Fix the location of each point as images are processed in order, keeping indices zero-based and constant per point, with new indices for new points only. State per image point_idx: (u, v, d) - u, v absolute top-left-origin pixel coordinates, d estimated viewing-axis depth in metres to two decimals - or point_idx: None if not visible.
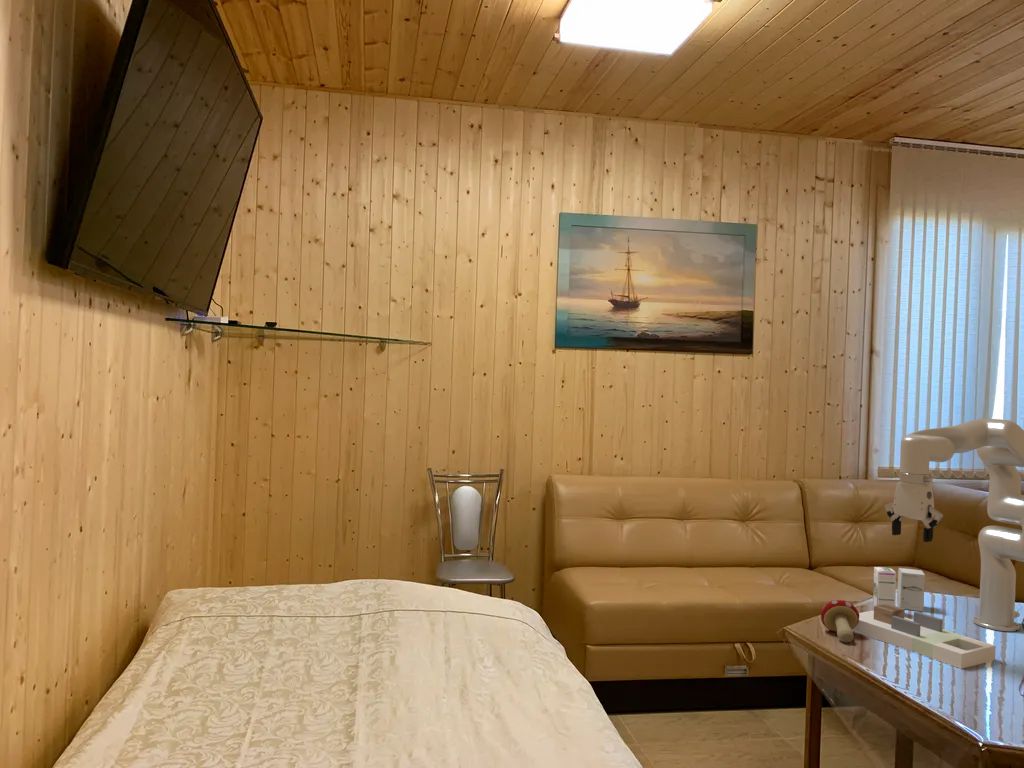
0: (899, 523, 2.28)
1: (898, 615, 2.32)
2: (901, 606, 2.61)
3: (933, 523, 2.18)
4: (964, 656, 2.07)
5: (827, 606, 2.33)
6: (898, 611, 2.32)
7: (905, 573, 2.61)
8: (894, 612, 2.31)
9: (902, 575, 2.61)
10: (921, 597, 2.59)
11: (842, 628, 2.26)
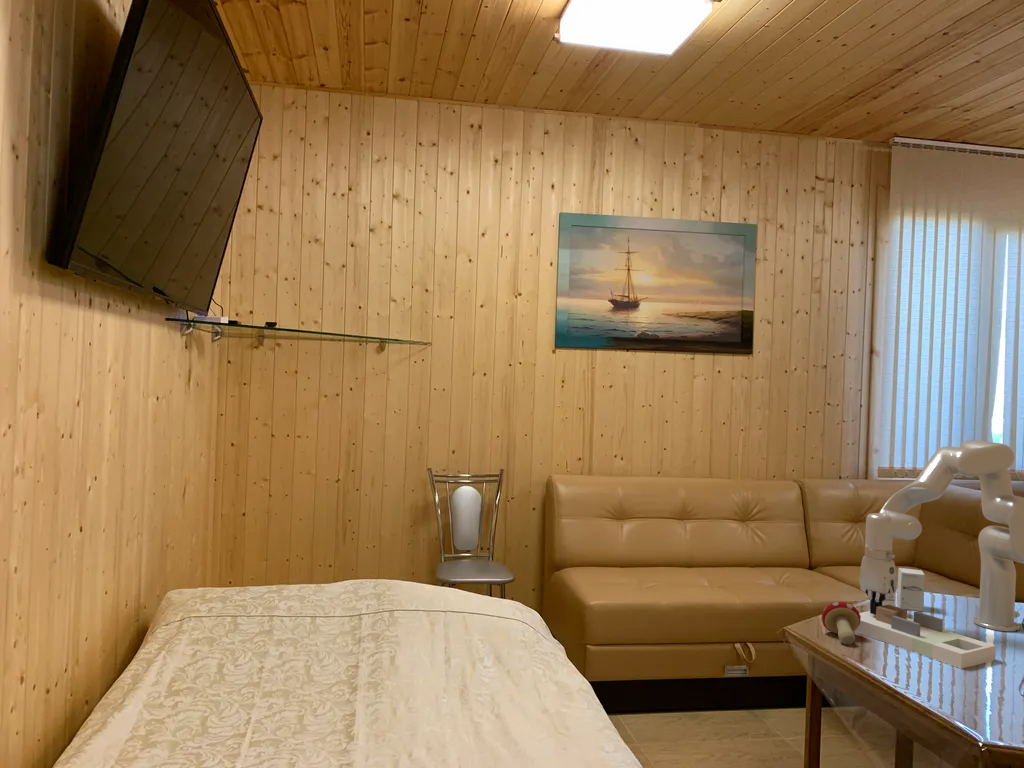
0: None
1: (900, 616, 2.31)
2: (901, 606, 2.61)
3: (882, 598, 2.35)
4: (964, 656, 2.07)
5: (828, 608, 2.31)
6: (900, 612, 2.31)
7: (905, 573, 2.61)
8: (896, 613, 2.30)
9: (902, 575, 2.61)
10: (921, 597, 2.59)
11: (843, 630, 2.24)
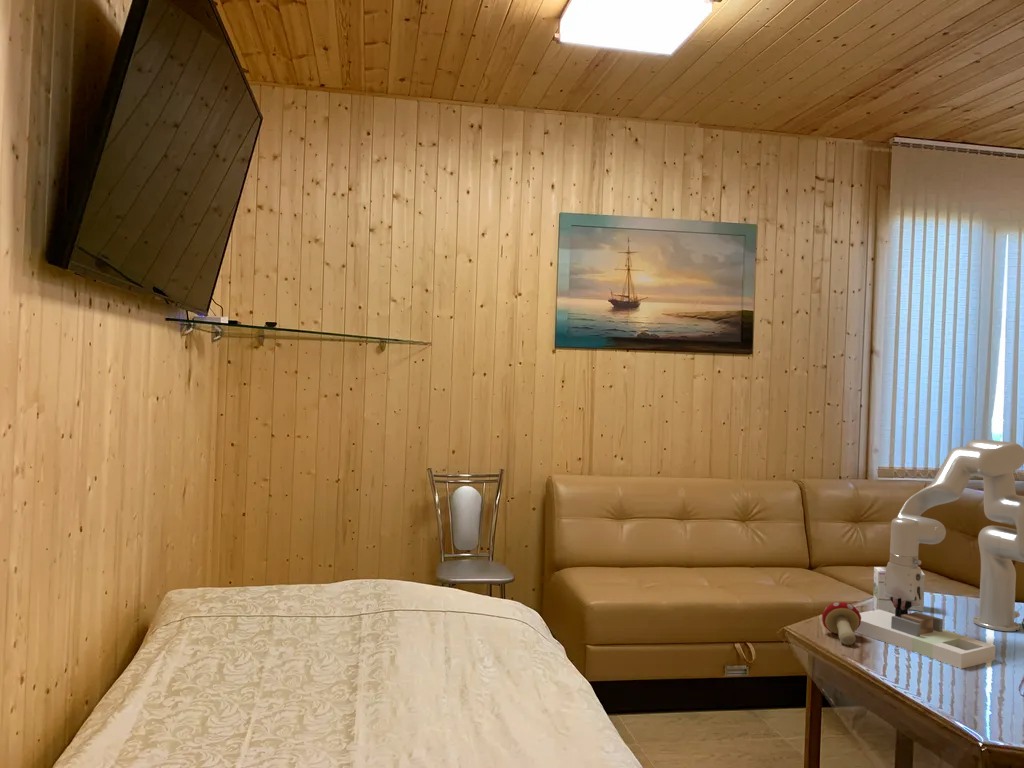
0: None
1: (926, 624, 2.23)
2: None
3: (907, 605, 2.28)
4: (964, 656, 2.07)
5: (829, 608, 2.30)
6: (926, 620, 2.23)
7: None
8: (922, 621, 2.22)
9: None
10: None
11: (844, 630, 2.23)
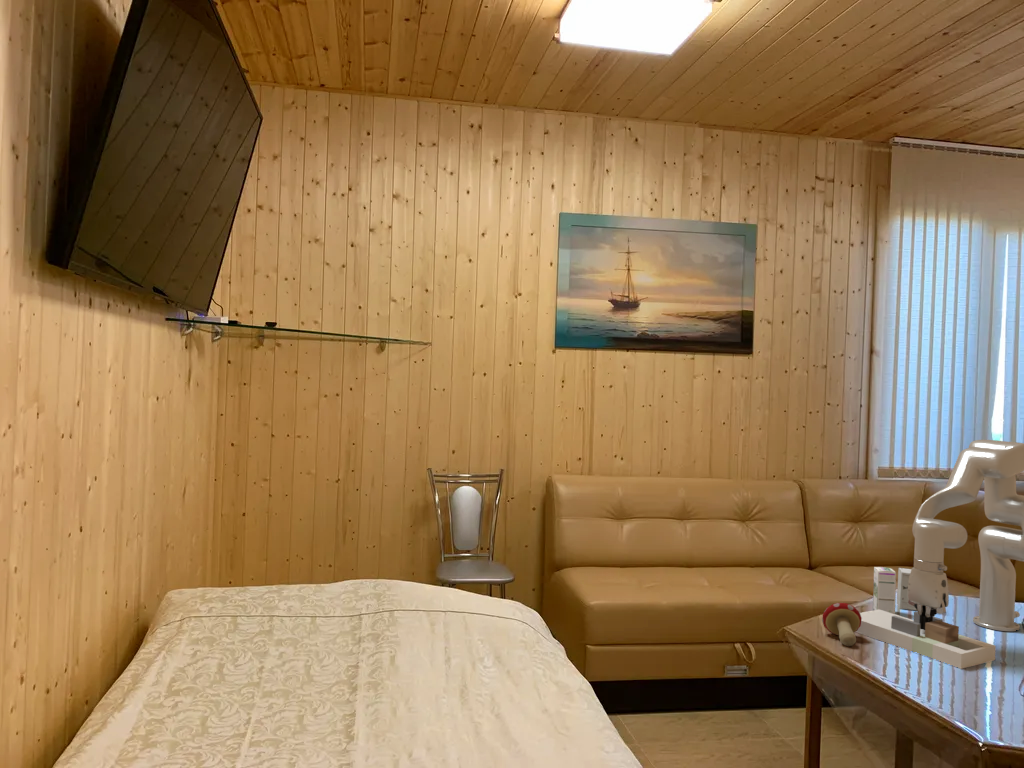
0: None
1: (952, 633, 2.16)
2: (901, 606, 2.61)
3: (933, 612, 2.21)
4: (964, 656, 2.07)
5: (829, 609, 2.30)
6: (952, 629, 2.16)
7: (905, 573, 2.61)
8: (948, 630, 2.15)
9: (902, 575, 2.61)
10: None
11: (844, 631, 2.23)
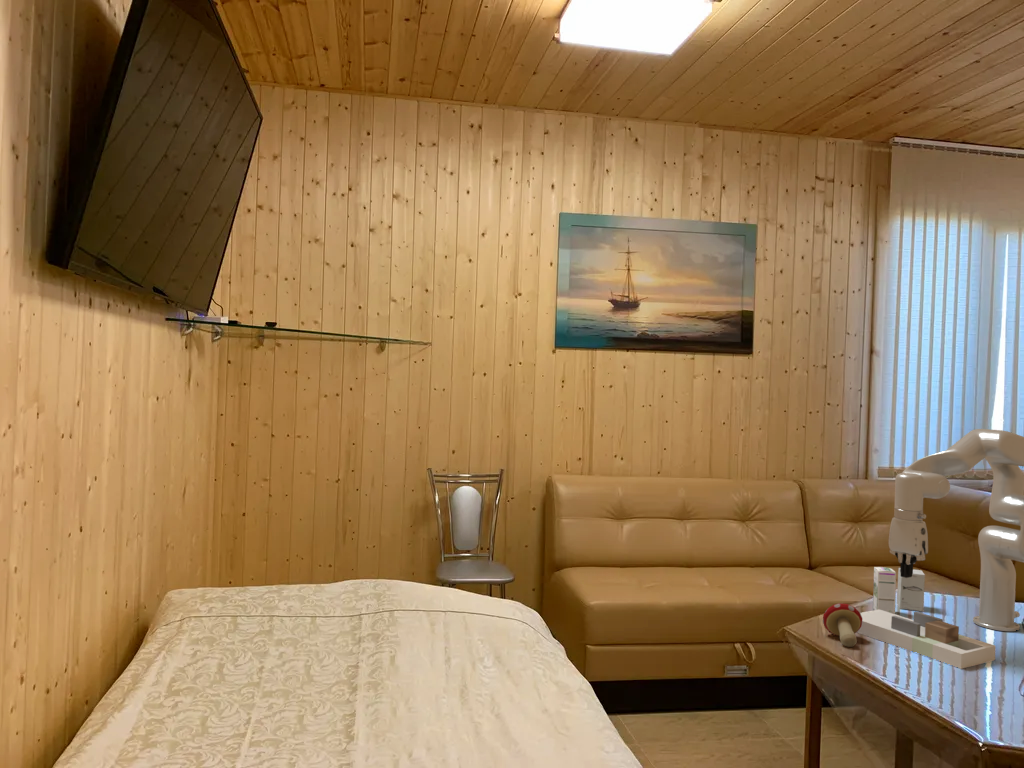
0: None
1: (952, 633, 2.16)
2: (901, 606, 2.61)
3: (913, 560, 2.27)
4: (964, 656, 2.07)
5: (830, 610, 2.29)
6: (952, 629, 2.16)
7: None
8: (948, 630, 2.15)
9: None
10: (921, 597, 2.59)
11: (845, 632, 2.22)
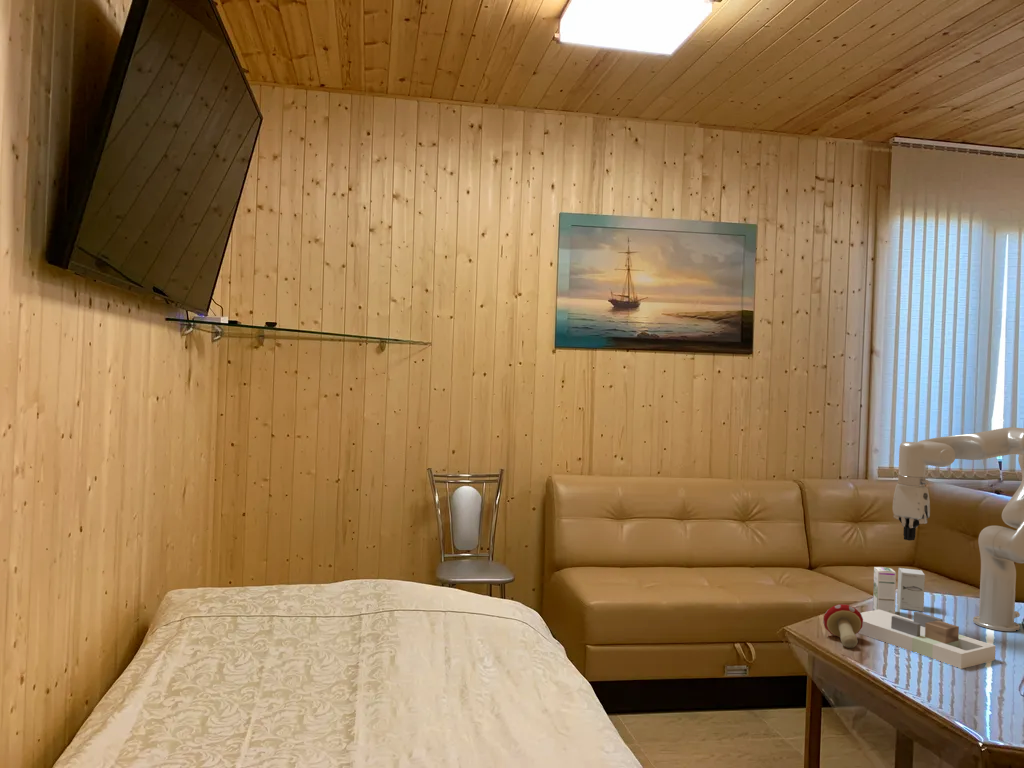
0: None
1: (952, 633, 2.16)
2: (901, 606, 2.61)
3: (915, 523, 2.40)
4: (964, 656, 2.07)
5: (830, 611, 2.28)
6: (952, 629, 2.16)
7: (905, 573, 2.61)
8: (948, 630, 2.15)
9: (902, 575, 2.61)
10: (921, 597, 2.59)
11: (846, 633, 2.21)
